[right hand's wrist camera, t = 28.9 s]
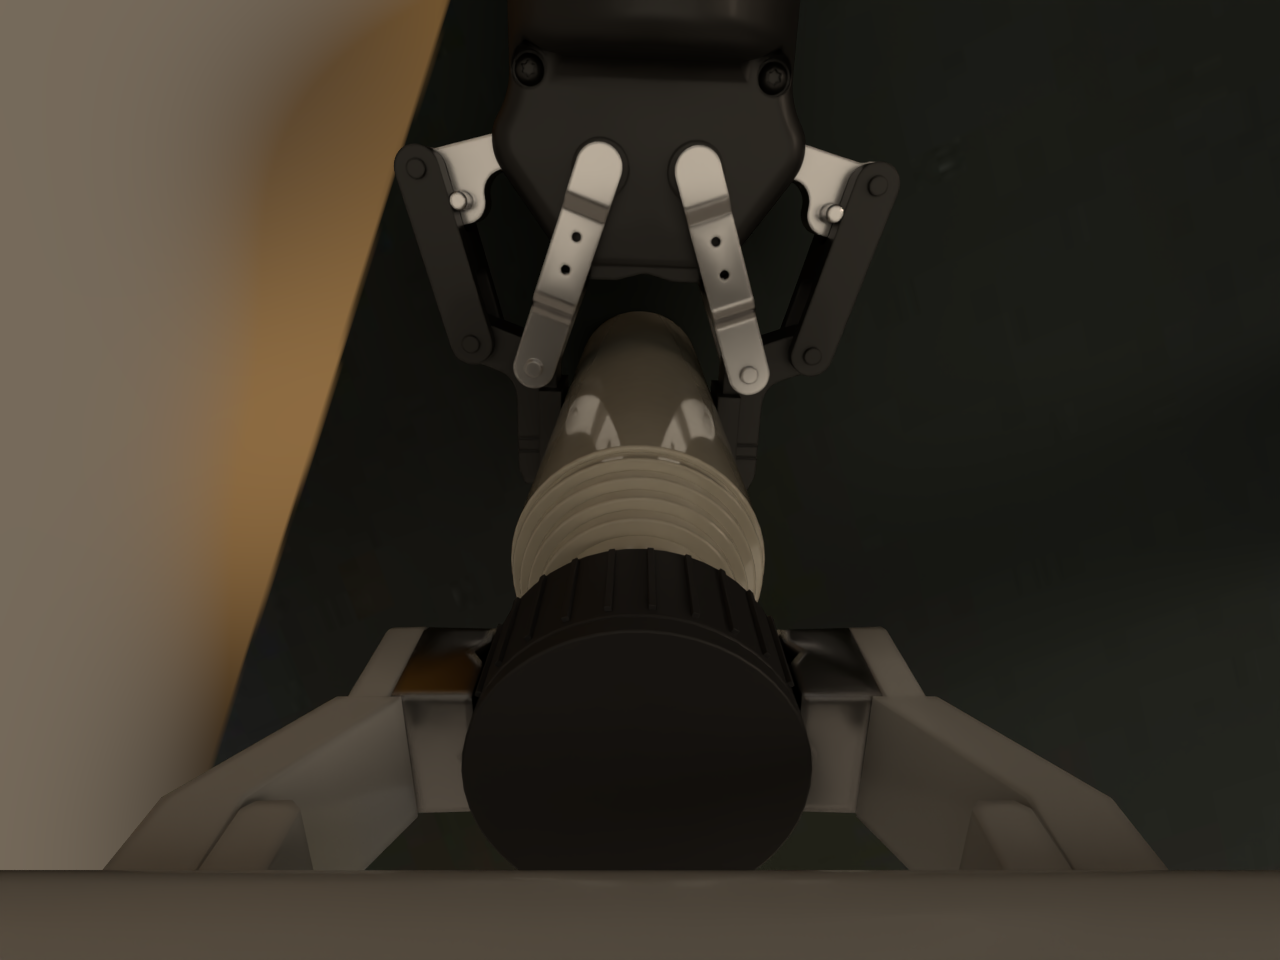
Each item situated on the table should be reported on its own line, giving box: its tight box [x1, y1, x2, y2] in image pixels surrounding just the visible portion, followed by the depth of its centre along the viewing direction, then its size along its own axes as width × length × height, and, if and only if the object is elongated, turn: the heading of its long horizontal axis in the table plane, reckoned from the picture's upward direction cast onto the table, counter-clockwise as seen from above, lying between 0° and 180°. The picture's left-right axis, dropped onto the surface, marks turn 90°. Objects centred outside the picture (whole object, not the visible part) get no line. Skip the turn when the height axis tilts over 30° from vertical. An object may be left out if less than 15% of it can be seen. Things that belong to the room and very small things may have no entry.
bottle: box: [511, 311, 765, 602], centre depth 19 cm, size 5×5×21 cm
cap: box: [461, 547, 812, 870], centre depth 9 cm, size 4×4×2 cm
